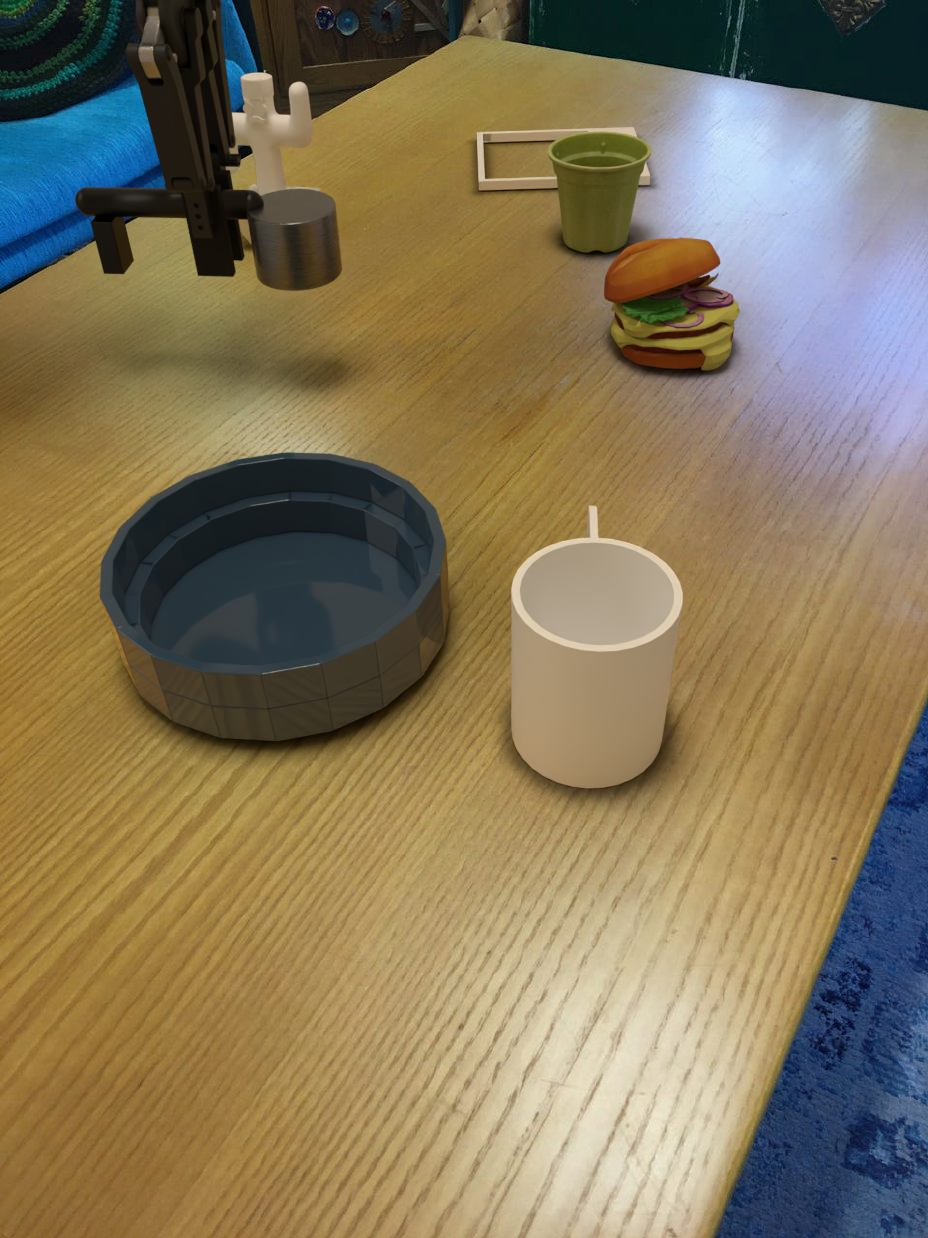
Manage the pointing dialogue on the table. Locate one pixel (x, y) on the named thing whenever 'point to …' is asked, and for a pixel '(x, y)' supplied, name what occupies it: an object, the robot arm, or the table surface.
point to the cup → (592, 658)
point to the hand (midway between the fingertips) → (221, 265)
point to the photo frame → (535, 136)
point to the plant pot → (597, 187)
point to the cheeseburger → (670, 305)
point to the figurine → (270, 132)
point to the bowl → (278, 594)
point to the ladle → (278, 221)
